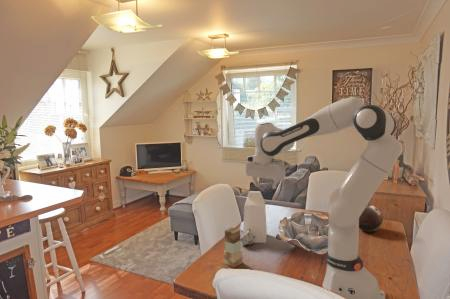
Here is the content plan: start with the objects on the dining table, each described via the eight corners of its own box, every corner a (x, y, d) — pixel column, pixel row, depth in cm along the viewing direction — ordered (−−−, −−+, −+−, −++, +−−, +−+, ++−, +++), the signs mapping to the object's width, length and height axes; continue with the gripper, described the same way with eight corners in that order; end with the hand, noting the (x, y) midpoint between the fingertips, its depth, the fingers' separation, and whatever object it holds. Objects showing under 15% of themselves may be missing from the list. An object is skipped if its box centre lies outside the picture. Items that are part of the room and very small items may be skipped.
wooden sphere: (380, 238, 171) (381, 211, 169) (350, 232, 179) (351, 206, 177) (383, 228, 184) (384, 203, 182) (355, 224, 192) (356, 199, 190)
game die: (249, 253, 166) (254, 243, 159) (234, 246, 167) (238, 236, 160) (254, 239, 172) (259, 229, 165) (239, 232, 173) (243, 222, 166)
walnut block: (240, 240, 147) (240, 229, 146) (233, 243, 143) (233, 233, 142) (232, 237, 150) (231, 227, 149) (224, 240, 146) (224, 230, 146)
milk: (243, 241, 171) (242, 194, 167) (245, 233, 182) (244, 188, 178) (265, 243, 169) (265, 195, 165) (266, 234, 180) (266, 189, 176)
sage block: (240, 250, 147) (240, 240, 146) (233, 254, 144) (233, 244, 143) (232, 247, 150) (232, 237, 150) (225, 251, 147) (225, 240, 146)
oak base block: (242, 262, 148) (242, 250, 147) (233, 267, 144) (233, 255, 143) (232, 258, 152) (232, 246, 151) (223, 263, 148) (223, 251, 147)
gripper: (287, 158, 144) (288, 188, 146) (251, 155, 157) (252, 183, 159) (280, 160, 139) (280, 191, 141) (243, 157, 153) (244, 185, 154)
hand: (265, 187), depth 150 cm, fingers open, 8 cm apart
